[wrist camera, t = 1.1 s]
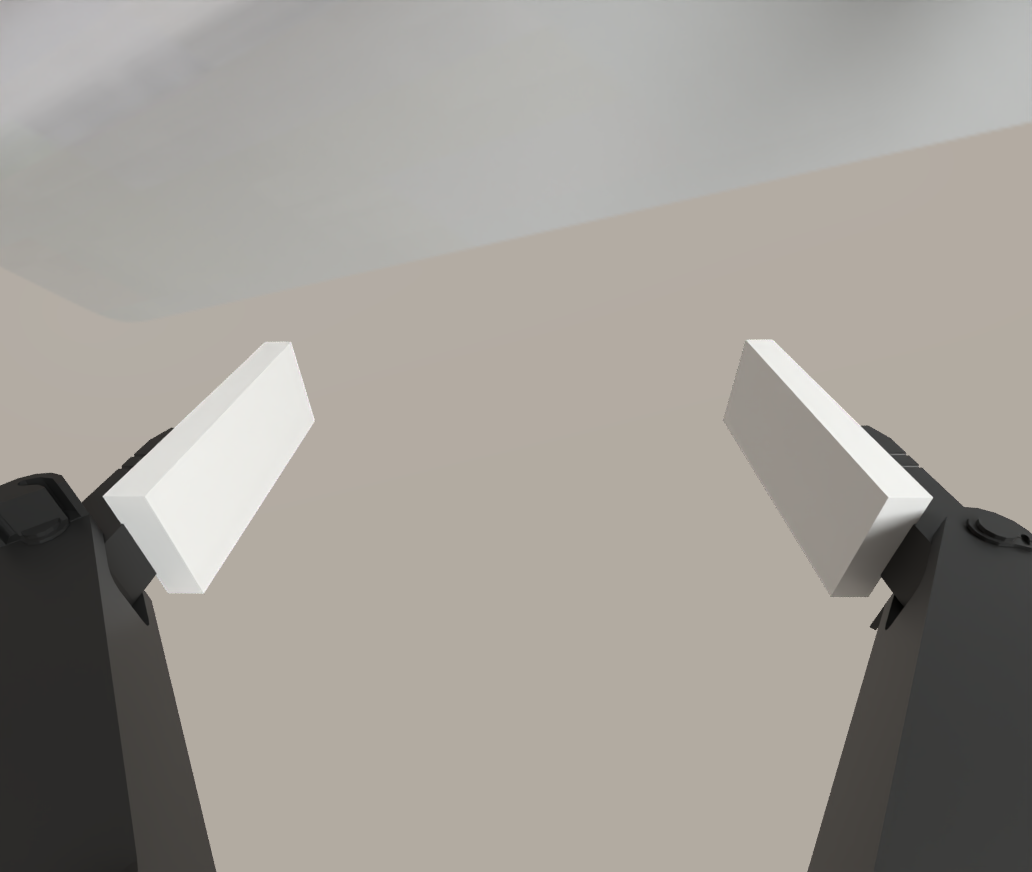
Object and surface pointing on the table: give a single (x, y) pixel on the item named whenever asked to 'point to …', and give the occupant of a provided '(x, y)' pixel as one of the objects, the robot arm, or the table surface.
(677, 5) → the table surface
